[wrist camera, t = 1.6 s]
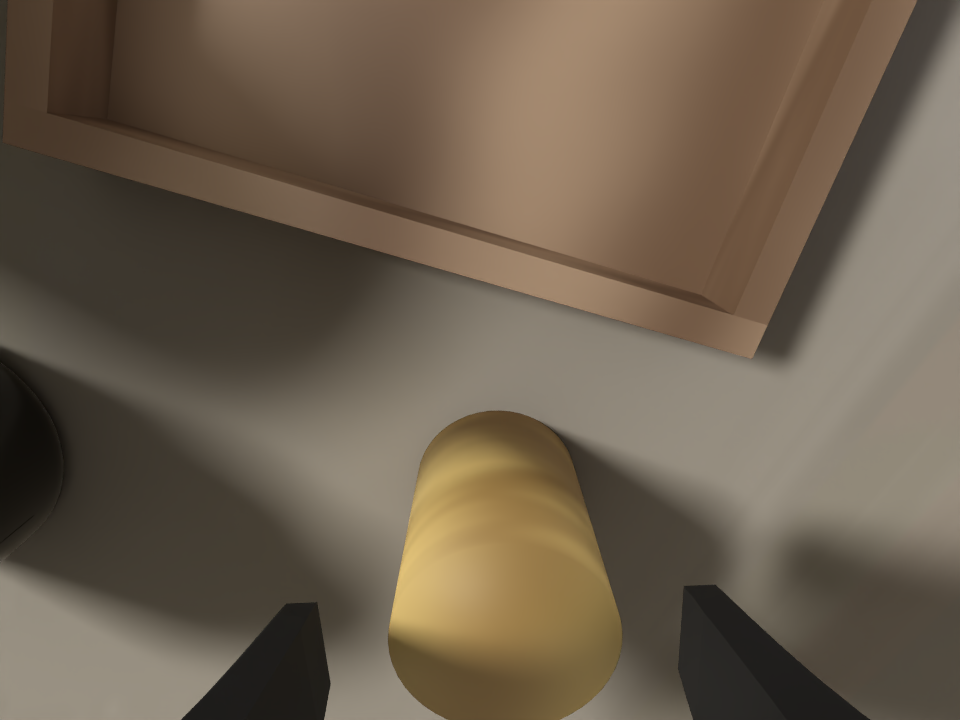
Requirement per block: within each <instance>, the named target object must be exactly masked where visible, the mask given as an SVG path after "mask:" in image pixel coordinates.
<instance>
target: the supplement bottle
mask: <svg viewBox="0 0 960 720" xmlns="http://www.w3.org/2000/svg"><path fill="white" fill-rule="evenodd" d="M63 470H64V464H63V454H62V448H61V443H60V440H59V437H58V434H57V431H56V429H55V426H54V424H53V422H52V420H51V418H50V416H49V414H48V412H47V411H46V409H45V408H44V406H43V404H42V403H41V402H40V400H39V399H38V398H37V396H36V395H35V394H34V393H33V392H32V390H31V389H30V388H29V387H28V386H27V385H26V384H25V383H24V382H23V381H22V380H21V379H20V378H19V377H18V376H17V375H16V374H14V373H13V372H12V371H11V370H10V369H8V368H7V367H6V366H4V365H3V364H1V363H0V563H1V562H2V561H3V560H5V559H6V558H7V557H8V556H9V555H10V554H11V553H12V552H13V551H14V550H16V549H17V548H18V547H19V546H20V545H21V544H22V543H23V542H24V541H26V540H27V539H28V538H29V537H30V536H31V535H32V534H33V533H34V532H35V531H36V530H37V529H38V528H39V527H40V526H41V525H42V524H43V523H44V521H45V520H46V519H47V518H48V516H49V515H50V513H51V512H52V510H53V508H54V506H55V504H56V502H57V500H58V497H59V494H60V491H61V487H62V481H63Z"/></svg>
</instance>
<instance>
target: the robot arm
mask: <svg viewBox="0 0 960 720" xmlns="http://www.w3.org/2000/svg"><path fill="white" fill-rule="evenodd" d="M678 670H679V673H680V677H681V680H682V684H683V687H684V691H685V694H686V698H687V701H688V704H689V707H690V711H691V714H692V717H693V720H870V719H868V718H867V717H866V716H864V715H863V714H862V713H861V712H859V711H858V710H857V709H855V708H854V707H853V706H852V705H850V704H849V703H848V702H847V701H845V700H844V699H843V698H842V697H840V696H839V695H838V694H837V693H835V692H834V691H833V690H832V689H831V688H829V687H828V686H827V685H826V684H824V683H823V682H822V681H821V680H820V679H818V678H817V677H816V676H815V675H814V674H812V673H811V672H810V671H809V670H808V669H807V668H805V667H804V666H803V665H802V664H801V663H800V662H799V661H797V660H796V659H795V658H794V657H793V656H792V655H791V654H790V653H788V652H787V651H786V650H785V649H784V648H783V647H782V646H781V645H779V644H778V643H777V642H776V641H775V640H774V639H773V638H772V637H771V636H770V635H769V634H767V633H766V632H765V631H764V630H763V629H762V628H761V627H760V626H759V625H758V624H757V623H756V622H755V621H753V620H752V619H751V618H750V617H749V616H748V615H747V614H746V613H745V612H744V611H743V610H742V609H741V608H740V607H739V606H738V605H736V604H735V603H734V602H733V601H732V600H731V599H730V598H729V597H728V596H727V595H726V594H725V593H724V592H723V591H722V590H720V589H719V588H718V587H717V586H716V585H698V586H684V593H683V607H682V621H681V635H680V649H679V663H678ZM330 684H331V683H330V677H329V671H328V665H327V659H326V653H325V647H324V641H323V635H322V629H321V623H320V617H319V611H318V605H317V602H316V603H293V604H286V605H285V606H284V607H283V608H282V609H281V610H280V611H279V612H278V613H277V615H276V616H275V617H274V618H273V619H272V620H271V621H270V623H269V624H268V625H267V626H266V627H265V628H264V630H263V631H262V632H261V633H260V634H259V635H258V637H257V638H256V639H255V640H254V641H253V642H252V644H251V645H250V646H249V647H248V648H247V649H246V650H245V652H244V653H243V654H242V655H241V656H240V657H239V658H238V660H237V661H236V662H235V663H234V664H233V665H232V666H231V667H230V668H229V670H228V671H227V672H226V673H225V674H224V675H223V676H222V677H221V678H220V679H219V681H218V682H217V683H216V684H215V685H214V686H213V687H212V688H211V689H210V690H209V692H208V693H207V694H206V695H205V696H204V697H203V698H202V699H201V700H200V701H199V702H198V703H197V704H196V705H195V706H194V707H193V708H192V709H191V710H190V711H189V712H188V713H187V714H186V715H185V716H184V717H183V718H182V719H181V720H324V717H325V712H326V706H327V700H328V695H329V689H330Z"/></svg>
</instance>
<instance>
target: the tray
mask: <svg viewBox="0 0 960 720" xmlns="http://www.w3.org/2000/svg"><path fill="white" fill-rule="evenodd" d="M916 2H917V0H8V4H7V32H6V60H5V88H4V116H3V143H5V144H9V145H12V146H16V147H19V148H23V149H26V150H30V151H33V152H36V153H40V154H43V155H47V156H50V157H54V158H57V159H61V160H64V161H68V162H71V163H75V164H78V165H82V166H85V167H88V168H92V169H95V170H99V171H102V172H106V173H109V174H113V175H116V176H120V177H123V178H127V179H130V180H134V181H137V182H140V183H144V184H147V185H151V186H154V187H158V188H161V189H165V190H168V191H172V192H175V193H179V194H182V195H186V196H189V197H192V198H196V199H199V200H203V201H206V202H210V203H213V204H217V205H220V206H224V207H227V208H231V209H234V210H237V211H241V212H244V213H248V214H251V215H255V216H258V217H262V218H265V219H269V220H272V221H276V222H279V223H283V224H286V225H289V226H293V227H296V228H300V229H303V230H307V231H310V232H314V233H317V234H321V235H324V236H328V237H331V238H335V239H338V240H341V241H345V242H348V243H352V244H355V245H359V246H362V247H366V248H369V249H373V250H376V251H380V252H383V253H387V254H390V255H393V256H397V257H400V258H404V259H407V260H411V261H414V262H418V263H421V264H425V265H428V266H432V267H435V268H439V269H442V270H445V271H449V272H452V273H456V274H459V275H463V276H466V277H470V278H473V279H477V280H480V281H484V282H487V283H491V284H494V285H497V286H501V287H504V288H508V289H511V290H515V291H518V292H522V293H525V294H529V295H532V296H536V297H539V298H543V299H546V300H549V301H553V302H556V303H560V304H563V305H567V306H570V307H574V308H577V309H581V310H584V311H588V312H591V313H595V314H598V315H601V316H605V317H608V318H612V319H615V320H619V321H622V322H626V323H629V324H633V325H636V326H640V327H643V328H647V329H650V330H653V331H657V332H660V333H664V334H667V335H671V336H674V337H678V338H681V339H685V340H688V341H692V342H695V343H698V344H702V345H705V346H709V347H712V348H716V349H719V350H723V351H726V352H730V353H733V354H737V355H740V356H744V357H747V358H750V359H752V358H753V356H754V354H755V352H756V349H757V347H758V345H759V343H760V341H761V339H762V336H763V334H764V332H765V330H766V328H767V326H768V323H769V321H770V319H771V317H772V315H773V313H774V310H775V308H776V306H777V304H778V302H779V299H780V297H781V295H782V293H783V291H784V289H785V286H786V284H787V282H788V280H789V278H790V276H791V273H792V271H793V269H794V267H795V265H796V263H797V260H798V258H799V256H800V254H801V252H802V250H803V247H804V245H805V243H806V241H807V239H808V237H809V234H810V232H811V230H812V228H813V226H814V224H815V221H816V219H817V217H818V215H819V213H820V211H821V208H822V206H823V204H824V202H825V200H826V198H827V195H828V193H829V191H830V189H831V187H832V185H833V182H834V180H835V178H836V176H837V174H838V171H839V169H840V167H841V165H842V163H843V161H844V158H845V156H846V154H847V152H848V150H849V148H850V145H851V143H852V141H853V139H854V137H855V135H856V132H857V130H858V128H859V126H860V124H861V122H862V119H863V117H864V115H865V113H866V111H867V109H868V106H869V104H870V102H871V100H872V98H873V96H874V93H875V91H876V89H877V87H878V85H879V83H880V80H881V78H882V76H883V74H884V72H885V70H886V67H887V65H888V63H889V61H890V59H891V57H892V54H893V52H894V50H895V48H896V46H897V43H898V41H899V39H900V37H901V35H902V33H903V30H904V28H905V26H906V24H907V22H908V20H909V17H910V15H911V13H912V11H913V9H914V7H915V4H916Z"/></svg>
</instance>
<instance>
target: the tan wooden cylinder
mask: <svg viewBox="0 0 960 720" xmlns="http://www.w3.org/2000/svg"><path fill="white" fill-rule="evenodd" d="M388 645H389V653H390V657H391V661H392V664H393V667H394V669H395V671H396V673H397V675H398V677H399V679H400V680H401V682H402V683H403V685H404V686H405V688H406V689H407V690H408V691H409V692H410V693H411V694H412V696H413V697H414V698H416V699H417V700H418V701H419V702H420V703H421V704H422V705H424V706H425V707H427V708H428V709H430V710H431V711H433V712H434V713H436V714H438V715H440V716H442V717H444V718H445V719H448V720H560V719H562V718H564V717H566V716H568V715H570V714H572V713H573V712H575V711H577V710H578V709H580V708H581V707H583V706H584V705H585V704H587V703H588V702H589V701H590V700H592V699H593V698H594V697H595V696H596V695H597V694H598V693H599V692H600V691H601V690H602V688H603V687H604V686H605V684H606V683H607V682H608V680H609V679H610V677H611V675H612V673H613V672H614V670H615V668H616V665H617V662H618V660H619V657H620V652H621V647H622V625H621V619H620V616H619V612H618V609H617V606H616V603H615V599H614V596H613V593H612V590H611V586H610V583H609V580H608V576H607V573H606V570H605V567H604V563H603V560H602V557H601V554H600V550H599V547H598V544H597V541H596V537H595V534H594V531H593V528H592V524H591V521H590V518H589V515H588V511H587V508H586V505H585V501H584V498H583V495H582V492H581V488H580V485H579V482H578V479H577V475H576V472H575V469H574V466H573V462H572V459H571V456H570V454H569V452H568V450H567V448H566V447H565V445H564V444H563V442H562V441H561V439H560V438H559V437H558V436H557V435H556V434H555V433H554V432H553V431H552V430H551V429H549V428H548V427H547V426H545V425H544V424H542V423H541V422H539V421H537V420H535V419H533V418H531V417H529V416H526V415H523V414H519V413H514V412H509V411H486V412H480V413H475V414H472V415H469V416H466V417H464V418H461V419H459V420H457V421H455V422H454V423H452V424H450V425H449V426H447V427H446V428H445V429H443V430H442V431H441V432H440V433H439V434H438V435H437V436H436V437H435V438H434V439H433V441H432V442H431V443H430V445H429V446H428V448H427V449H426V451H425V453H424V455H423V458H422V460H421V463H420V467H419V472H418V477H417V483H416V488H415V493H414V498H413V504H412V509H411V514H410V520H409V525H408V530H407V535H406V541H405V546H404V551H403V556H402V562H401V567H400V572H399V577H398V583H397V588H396V593H395V599H394V604H393V609H392V614H391V620H390V625H389V633H388Z"/></svg>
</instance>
